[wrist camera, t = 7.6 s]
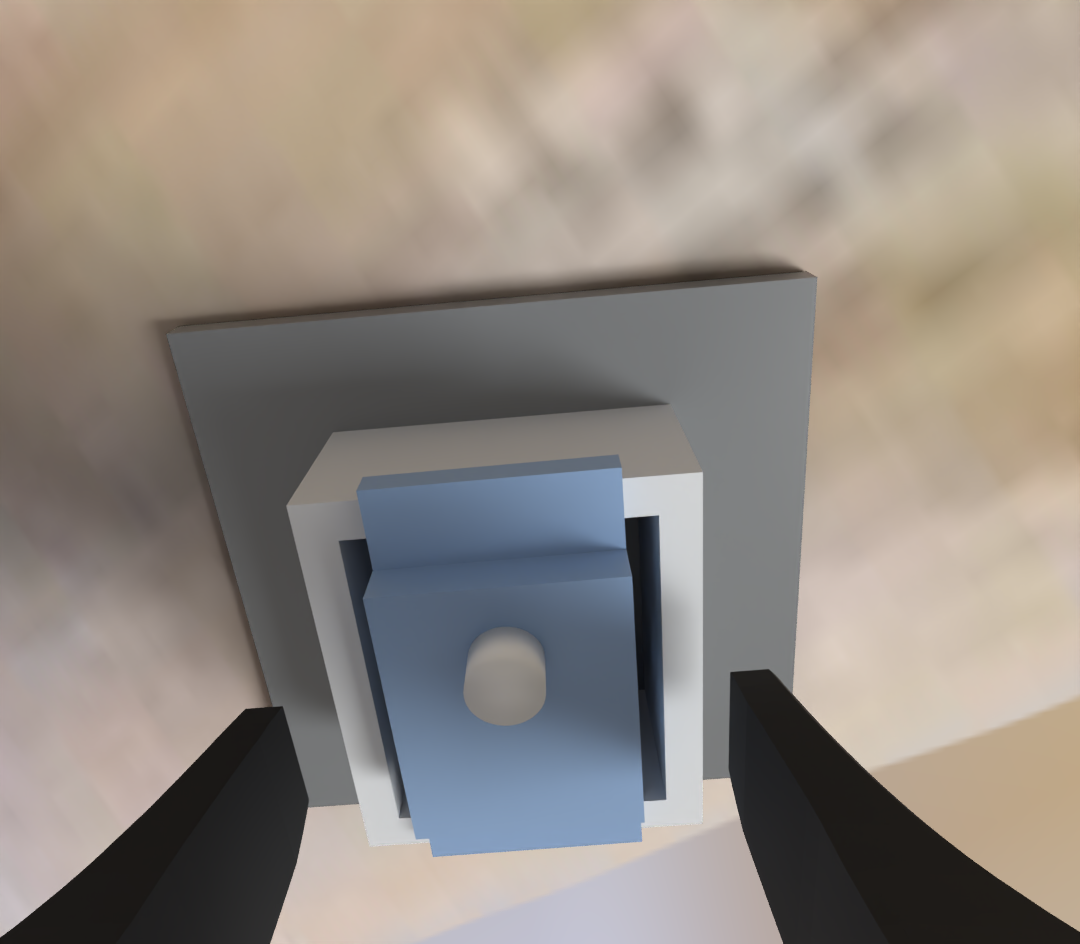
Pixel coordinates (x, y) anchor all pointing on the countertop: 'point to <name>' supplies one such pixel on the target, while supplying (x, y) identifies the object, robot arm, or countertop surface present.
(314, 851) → the countertop surface
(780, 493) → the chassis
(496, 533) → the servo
